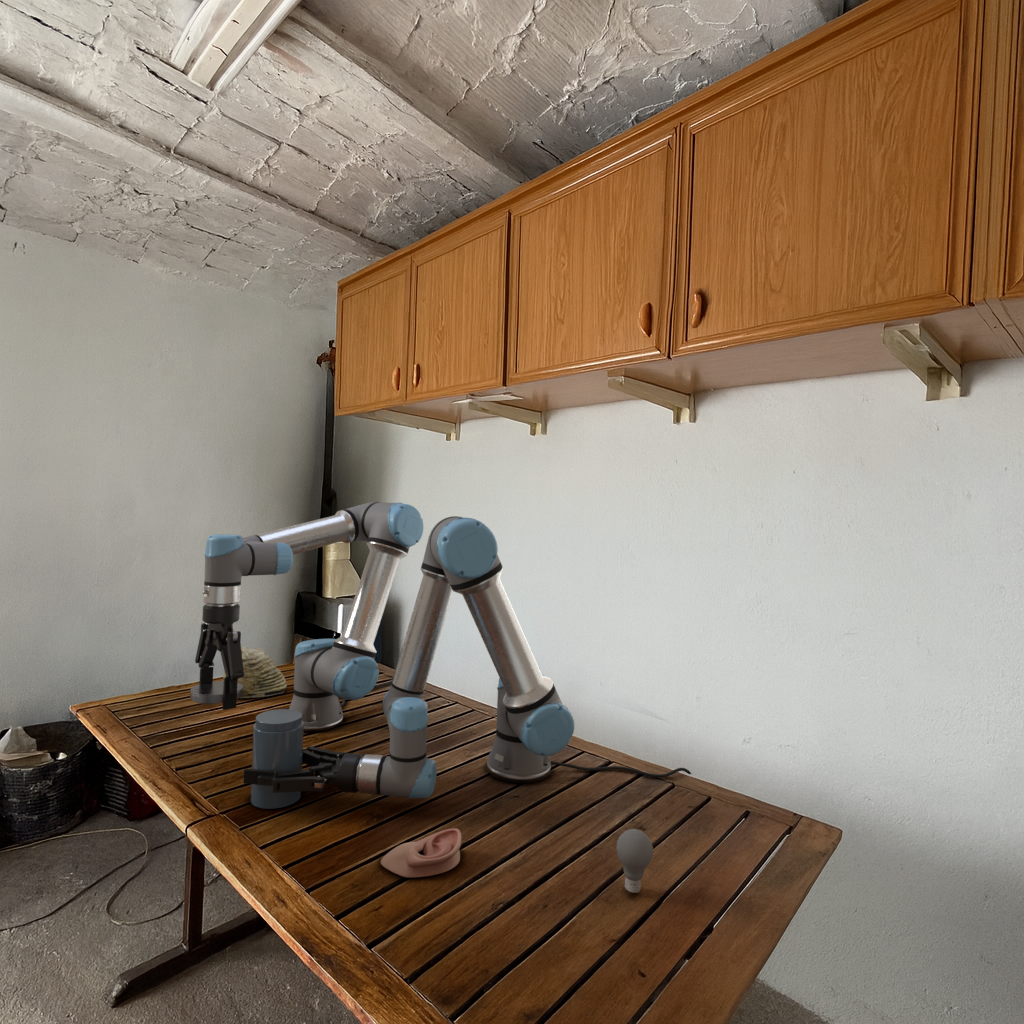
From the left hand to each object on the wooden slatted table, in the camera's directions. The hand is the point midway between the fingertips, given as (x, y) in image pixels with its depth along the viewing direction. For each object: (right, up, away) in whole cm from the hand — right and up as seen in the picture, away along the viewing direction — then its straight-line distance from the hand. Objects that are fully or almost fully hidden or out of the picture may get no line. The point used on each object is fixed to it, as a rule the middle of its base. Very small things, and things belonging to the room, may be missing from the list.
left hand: (217, 702), depth 141 cm
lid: (0, +3, 0) cm, 3 cm away
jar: (+16, -17, -9) cm, 25 cm away
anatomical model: (+50, -19, -29) cm, 61 cm away
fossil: (-15, -15, +57) cm, 60 cm away
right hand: (+12, -11, -8) cm, 18 cm away
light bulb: (+86, -21, -36) cm, 95 cm away
